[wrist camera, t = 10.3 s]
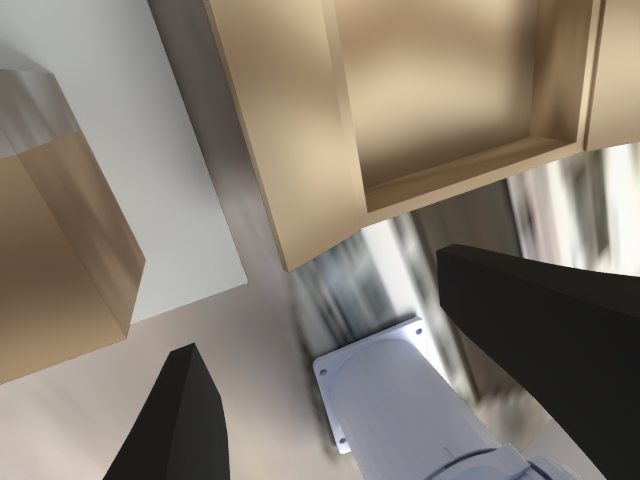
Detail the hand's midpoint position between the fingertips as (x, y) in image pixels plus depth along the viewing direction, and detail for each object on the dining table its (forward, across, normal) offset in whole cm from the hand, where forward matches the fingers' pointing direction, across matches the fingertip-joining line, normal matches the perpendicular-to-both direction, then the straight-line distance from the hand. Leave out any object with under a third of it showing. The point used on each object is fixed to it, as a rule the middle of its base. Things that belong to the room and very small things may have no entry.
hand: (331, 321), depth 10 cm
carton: (+9, -10, -6) cm, 15 cm away
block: (+9, +8, -4) cm, 13 cm away
